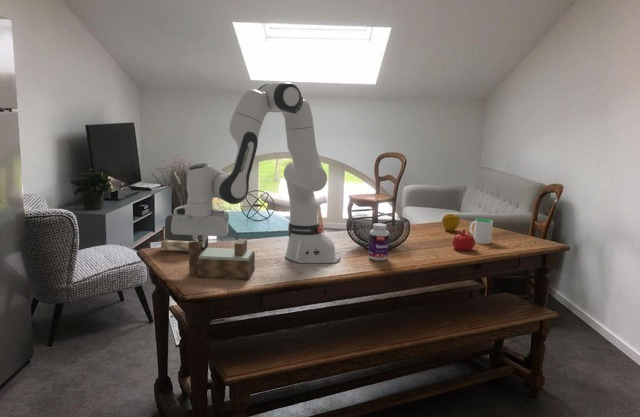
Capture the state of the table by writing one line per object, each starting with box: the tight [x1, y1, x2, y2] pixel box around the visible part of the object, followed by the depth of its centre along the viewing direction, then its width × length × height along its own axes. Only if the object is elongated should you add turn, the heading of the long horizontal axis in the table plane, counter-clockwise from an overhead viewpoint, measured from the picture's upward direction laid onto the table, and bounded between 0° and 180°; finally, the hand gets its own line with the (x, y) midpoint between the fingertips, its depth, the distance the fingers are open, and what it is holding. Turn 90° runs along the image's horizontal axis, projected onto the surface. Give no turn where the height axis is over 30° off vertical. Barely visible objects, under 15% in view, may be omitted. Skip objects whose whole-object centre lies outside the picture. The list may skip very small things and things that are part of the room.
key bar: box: [160, 239, 195, 252], centre depth 194 cm, size 12×4×3 cm, turn 87°
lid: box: [199, 238, 255, 261], centre depth 193 cm, size 17×11×6 cm, turn 87°
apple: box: [442, 213, 460, 232], centre depth 277 cm, size 9×8×9 cm
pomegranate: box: [451, 229, 476, 252], centre depth 240 cm, size 10×10×9 cm
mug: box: [468, 218, 494, 245], centre depth 257 cm, size 12×8×10 cm, turn 36°
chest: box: [188, 238, 256, 281], centre depth 194 cm, size 22×12×12 cm, turn 87°
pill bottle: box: [367, 222, 390, 262], centre depth 220 cm, size 8×8×14 cm
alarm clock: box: [164, 213, 209, 253], centre depth 225 cm, size 16×11×16 cm
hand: (200, 247), depth 193 cm, fingers closed
